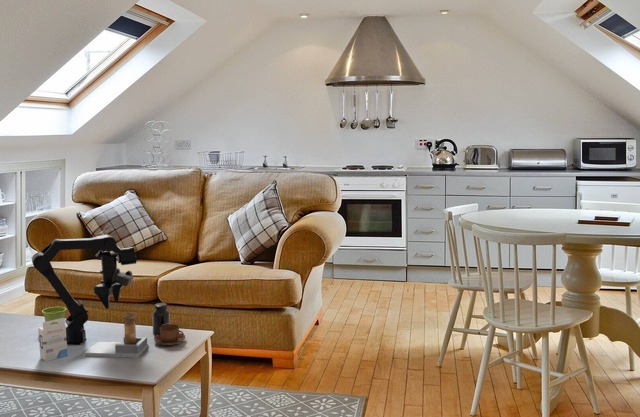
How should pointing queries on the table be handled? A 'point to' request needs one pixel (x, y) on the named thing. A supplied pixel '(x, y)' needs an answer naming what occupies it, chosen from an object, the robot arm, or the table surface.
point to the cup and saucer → (169, 335)
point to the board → (118, 348)
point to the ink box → (53, 340)
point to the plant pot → (53, 313)
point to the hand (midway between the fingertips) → (112, 305)
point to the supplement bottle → (160, 317)
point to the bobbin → (130, 328)
